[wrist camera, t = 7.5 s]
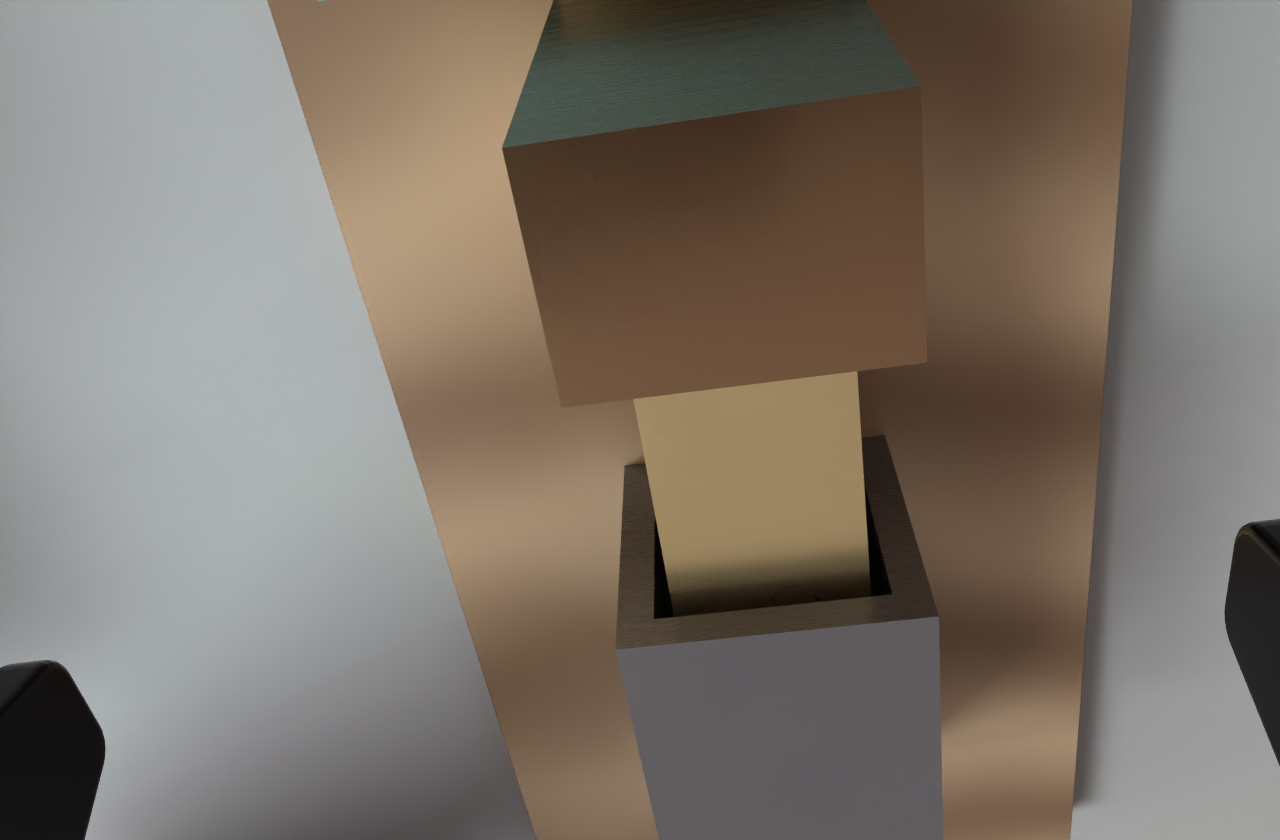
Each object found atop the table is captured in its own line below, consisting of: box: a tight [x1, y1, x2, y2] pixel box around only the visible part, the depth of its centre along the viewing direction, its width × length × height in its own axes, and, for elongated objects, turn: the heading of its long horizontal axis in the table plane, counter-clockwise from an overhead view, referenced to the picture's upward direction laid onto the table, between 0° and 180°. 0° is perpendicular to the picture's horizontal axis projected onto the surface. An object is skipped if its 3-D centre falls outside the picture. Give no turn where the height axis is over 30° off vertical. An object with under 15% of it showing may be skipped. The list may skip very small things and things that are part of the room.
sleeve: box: [615, 435, 943, 840], centre depth 22 cm, size 9×5×5 cm, turn 9°
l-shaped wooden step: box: [502, 0, 927, 617], centre depth 16 cm, size 17×3×9 cm, turn 9°
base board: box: [268, 0, 1133, 840], centre depth 22 cm, size 28×13×1 cm, turn 9°
